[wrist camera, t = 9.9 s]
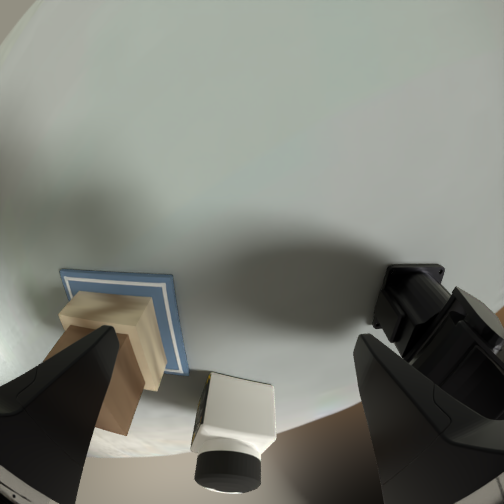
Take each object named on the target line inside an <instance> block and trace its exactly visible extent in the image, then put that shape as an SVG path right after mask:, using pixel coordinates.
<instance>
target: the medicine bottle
mask: <svg viewBox="0 0 504 504" xmlns="http://www.w3.org/2000/svg"><path fill="white" fill-rule="evenodd" d="M275 439H276V419H275V397H274V387H273V386H272V385H268V384H263V383H258V382H253V381H248V380H243V379H239V378H234V377H230V376H226V375H222V374H218V373H214V372H212V373H210V374H209V376H208V379H207V382H206V385H205V387H204V390H203V393H202V396H201V398H200V401H199V404H198V409H197V414H196V420H195V425H194V431H193V436H192V442H191V448H190V449H191V451H192V452H194V453H198V458H197V465H196V471H195V481H196V482H197V483H198V484H199V485H201V486H202V487H204V488H206V489H208V490H212V491H215V492H220V493H231V494H236V493H245V492H249V491H252V490H255V489H257V488H258V487H259V486H260V484H261V454H262V453H263V452H264V451H265V450H266V449H267V448H268V447H269V446H270V445H271V444H272V443H273V442H274V441H275Z"/></svg>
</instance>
